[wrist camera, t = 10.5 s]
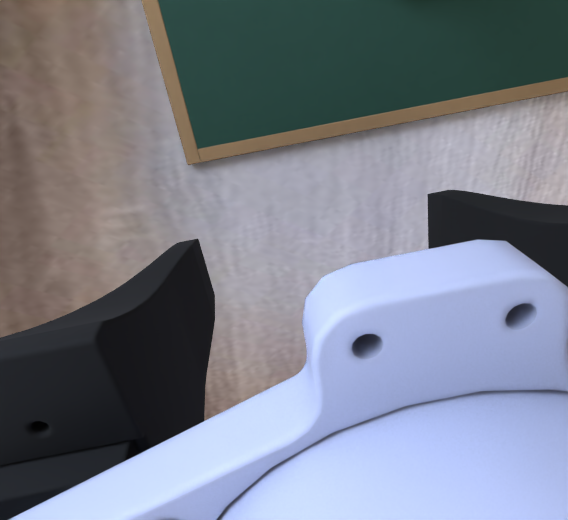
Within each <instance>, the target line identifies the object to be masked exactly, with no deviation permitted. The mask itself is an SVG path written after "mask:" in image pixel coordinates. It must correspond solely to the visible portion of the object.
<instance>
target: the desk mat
mask: <svg viewBox="0 0 568 520" xmlns="http://www.w3.org/2000/svg"><path fill="white" fill-rule="evenodd" d="M142 4H143V8H144V11H145V15H146V18H147V22H148V25H149V29H150V32H151V36H152V40H153V43H154V47H155V50H156V54H157V57H158V61H159V64H160V68H161V72H162V75H163V79H164V82H165V86H166V89H167V93H168V96H169V100H170V104H171V107H172V111H173V114H174V118H175V121H176V125H177V128H178V132H179V136H180V139H181V143H182V146H183V150H184V153H185V157H186V160H187V164H188V165H191V164H196V163H201V162H206V161H212V160H217V159H222V158H227V157H232V156H237V155H242V154H248V153H253V152H258V151H263V150H268V149H273V148H278V147H284V146H289V145H294V144H299V143H304V142H309V141H314V140H320V139H325V138H330V137H335V136H340V135H345V134H350V133H356V132H361V131H366V130H371V129H376V128H381V127H386V126H392V125H397V124H402V123H407V122H412V121H417V120H422V119H428V118H433V117H438V116H443V115H448V114H453V113H458V112H464V111H469V110H474V109H479V108H484V107H489V106H494V105H499V104H505V103H510V102H515V101H520V100H525V99H530V98H535V97H541V96H546V95H551V94H556V93H561V92H566V91H568V0H142Z"/></svg>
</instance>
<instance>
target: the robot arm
mask: <svg viewBox="0 0 568 520" xmlns="http://www.w3.org/2000/svg"><path fill="white" fill-rule="evenodd" d="M428 240H429V249H426V250H421V251H416V252H411V253H405V254H400V255H395V256H390V257H385V258H380V259H375V260H369V261H364V262H359V263H354V264H350V265H348V266H346V267H343V268H341V269H339V270H337V271H334V272H332V273H330V274H328V275H325V276H323V277H322V279H321V280H320V281H319V282H318V283H317V285H316V286H315V287H314V288H313V290H312V291H311V292H310V293H309V294H308V296H307V297H306V298H305V305H304V313H303V320H302V324H303V330H304V335H305V340H306V346H307V360H306V363H305V366H304V367H303V369H302V370H301V371H300V372H299V373H298V374H297V375H295V376H293V377H291V378H289V379H287V380H285V381H283V382H281V383H279V384H277V385H275V386H273V387H271V388H269V389H267V390H265V391H263V392H261V393H259V394H257V395H255V396H253V397H251V398H250V399H248V400H246V401H244V402H242V403H240V404H238V405H236V406H234V407H232V408H230V409H228V410H226V411H224V412H222V413H220V414H218V415H216V416H214V417H212V418H210V419H208V420H206V421H204V407H205V383H206V374H207V367H208V361H209V355H210V348H211V342H212V335H213V329H214V321H215V294H214V291H213V288H212V284H211V281H210V277H209V274H208V271H207V267H206V264H205V260H204V257H203V254H202V250H201V247H200V243H199V240H198V239H194V240H189V241H184V242H179V243H177V244H175V245H173V246H172V247H171V248H169V249H168V250H167V251H166V252H164V253H163V254H162V255H161V256H160V257H158V258H157V259H156V260H155V261H153V262H152V263H151V264H150V265H149V266H147V267H146V268H145V269H143V270H142V271H141V272H139V273H138V274H137V275H135V276H134V277H133V278H131V279H130V280H129V281H127V282H126V283H124V284H123V285H121V286H120V287H118V288H117V289H115V290H114V291H112V292H110V293H109V294H107V295H105V296H103V297H102V298H100V299H98V300H96V301H94V302H92V303H90V304H88V305H86V306H84V307H82V308H80V309H78V310H76V311H74V312H72V313H69V314H67V315H65V316H62V317H60V318H57V319H55V320H53V321H50V322H47V323H45V324H42V325H39V326H36V327H34V328H31V329H28V330H25V331H22V332H18V333H15V334H12V335H8V336H5V337H2V338H0V520H568V206H566V205H552V204H542V203H534V202H527V201H519V200H513V199H507V198H501V197H495V196H490V195H484V194H479V193H473V192H467V191H458V190H446V191H441V192H436V193H431V194H428Z"/></svg>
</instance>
